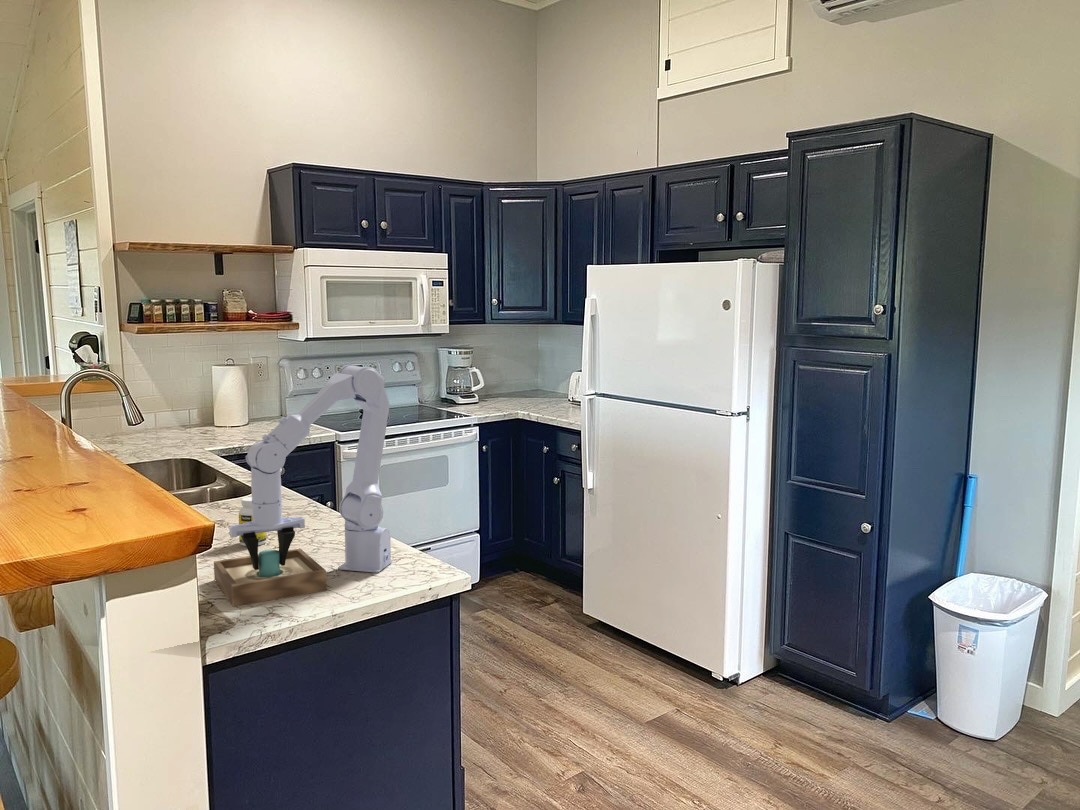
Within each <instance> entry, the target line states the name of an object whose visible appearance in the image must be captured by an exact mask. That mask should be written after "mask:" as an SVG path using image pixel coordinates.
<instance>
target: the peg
mask: <svg viewBox="0 0 1080 810" xmlns="http://www.w3.org/2000/svg"><path fill="white" fill-rule="evenodd" d="M258 555H259V577H274V576H278V575H280V557H279V549H277V550H276V549H266V550H261V551H258Z"/></svg>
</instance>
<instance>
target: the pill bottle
mask: <svg viewBox="0 0 1080 810" xmlns="http://www.w3.org/2000/svg"><path fill="white" fill-rule="evenodd" d="M241 506H242V507H240V509H239V510H238V525H239V524H243V523H248V522H252V521H253V516H252V496H248V497H243V498H241ZM255 535H257V539H258V540H259V541H258V547H259V546H262V545H264V544H266V542H267V532H263V533H256V534H255ZM238 537H239V542H238V543H239V545H240V546H243V547H246V545H245V543H244V541H243V539H242V537H241V536H238Z"/></svg>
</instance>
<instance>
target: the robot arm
mask: <svg viewBox="0 0 1080 810" xmlns="http://www.w3.org/2000/svg"><path fill="white" fill-rule="evenodd" d="M385 382H386V380H385V378H384V377H383V375H382V374H381V373H380V372H379V371H377V369H375V368H373V367H372V366H358V365H355V364H346V365H344V366H341V368H340V369H339V370H338V372H335V373H334V374H332V376H331V377H330V378H329V379H328V381H327V382H326V384H324V386H323V387H322V388H320V390H319V391H318V392H317V393H316V394H315V395H314V397H312V399H310V400H309V401H308V403H307V404H306V405H305V406H304V407H303V408H302V409H301V410H300V411H299V412H298V413H297V414H288V415H287V416H281V417H280V418H279V419H278V422H279V424H277V425H276V426H275V427H274V428H273V429H272V430H271V431H270V432H269V433H267V434H264V435H263V436H261V439H262V441H257V442H255V443H253V444H252V445H251V446H250V447H249V448H248V452H247V455H245V461H246V464H248V466H249V467H250V472H251V473H250V475H251V477H250V478H251V481H250V482H251V485H250V487H251V497H252V516H253V521H252V522H248V523H243V524H239V523H238V524H234V525H229V527H228V529H229V537H231V538H237V537H239V536H241V537H242V539H243V541H244V543H245V545H246V546H245V547H246V549H247V551H248V554H249V556H250V557H251V560H252V565H253V568H254V569H255V570H258V569H259V561H258V555H259V546H258V541H259V540H258V539H257V535H255V534H256V533H263V532H266V533H269V532H276V533H277V540H278V551H279V557H280V565H281V566H284V565H285V562H286V557H287V553H288V550H290V546H291V544H292V542H293V540H294V538H295V536H296V531H295V530H294V529H305V528H306V524H305V522H306V521H305V518H304V517H302V516H297V517H283V504H282V503H283V502H282V478H281V477H282V476H281V472H282V471H281V469H282V468H283V467H284V465H285V462H286V459H287V458H286V457H288V455H290V453H291V452H293V451H294V450H295V449H296V448H297V447H298V446H299V445H300V444H301V443H302V442H303V441H304V440H305V439H306V438H307V437H308V436H309V435H310V431H311V425H312V424H313V423H314V422H315V421H317V420H318V419H319V418H320V417H322V415H323V414H325V413H326V412H327V411H328V410H329V409H331V407H333V406H334V405H335V404H337V402H338V401H342V400H343V401H344V400H350V399H354V401H355V402H356V403H357V404H358V405H359V407H360V408H361V409H362V412H363V413H362V417H361V424H360V431H359V438H358V442H357V443H358V444H357V450H356V456H355V461H354V463H355V464H354V469H353V475H352V480H351V482H350V483H349V484H348V485H347V487H346V489H345V492H344V493H345V494H344V496H343V498H342V499H341V501H340V502H339V506H338V507H339V509H338V511H339V513H340V516H341V517H342V518H343V519H344V554H345V555H344V557H345V562H344V563H342V564H341V565H339V566H338V567H337V569H338V570H341V571H342V570H343V571H353V572H354V571H355V572H364V573H376V574H377V573H379V572H381V571H382V570H384V569H385V568H387V567H388V566H389V565H391V564H392V563H393V560H392V557H391V555H392V553H391V551H392V549H391V532H390V530H389V529H388V528H385V527H381V526H379V524H380V523H381V521H382V519H383V518H384V517H383V516H384V507H383V505H382V500H383V495H382V491H381V490H380V488H379V486H378V484H379V483H378V482H379V476H380V470H381V463H382V458H383V456H382V455H383V451H384V444H385V439H386V431H387V425H388V421H389V420H388V418H389V412H390V401H389V398H388V395H387V392H386V388H385Z"/></svg>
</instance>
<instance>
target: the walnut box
mask: <svg viewBox="0 0 1080 810" xmlns="http://www.w3.org/2000/svg"><path fill="white" fill-rule="evenodd" d="M258 561H259V554H258ZM213 574H214V575H213V577H214V581H215V580H216V581H215V583H216V582H217V583H218V584H217V583H216V584H217V586H218V585H219V586H218V587H219V589H220V591H222V593H223V594H224V596H225V597H226V598H227V599H228V601H229V602H230V604H231V606H232V607H238V606H245V605H248V604H249V605H251V604H255V603H261V602H266V601H267V602H268V601H273V600H277V599H279V600H280V599H283V598H284V599H285V598H289V597H294V596H300V595H306V594H311V593H316V592H322V591H327V590H328V589H327V585H328V584H327V570H326V569H325V568H324V567H323V566H322V565H320V564H319V563H318V562H317V561H316V560H315V559H313V557H311V556H310V555H309V554H308V553H306V551H304V550H303V549H302V548H295V549H289V550H288V553H287V557H286V562H285V565H284V566H281V565H280V575H278V576H274V577H259V569H258V570H255V569H254V568H253V565H252V560H251V557H250V555H247V556H241V557H235V558H234V557H233V558H228V559H227V558H225V559H220V560H215V561H213Z"/></svg>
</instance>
